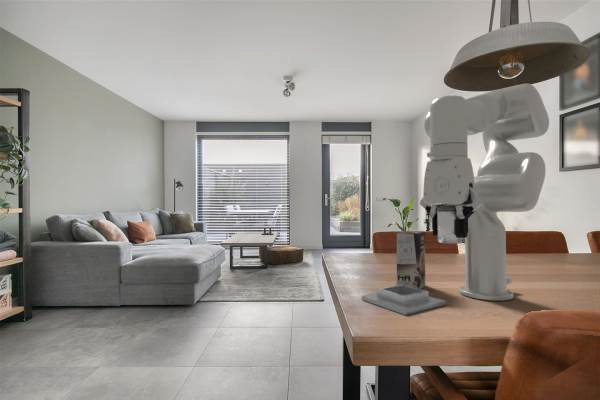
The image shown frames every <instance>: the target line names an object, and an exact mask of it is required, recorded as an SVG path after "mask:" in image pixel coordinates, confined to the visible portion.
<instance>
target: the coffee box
mask: <svg viewBox="0 0 600 400" xmlns="http://www.w3.org/2000/svg"><path fill="white" fill-rule="evenodd" d="M400 284H401V285H405V286H409V287H413V288H417V289H421V290H423V288H425V286H426V232H425V231H406V230H405V231H400V232H396V285H400Z"/></svg>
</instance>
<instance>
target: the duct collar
mask: <svg viewBox="0 0 600 400" xmlns="http://www.w3.org/2000/svg"><path fill="white" fill-rule="evenodd" d="M429 292H430V291H428V290H425V289H417V288H413V287H409V286H405V285H401V284H400V285H397V284H395V285H390V286H385V287H379V288H377V289H376V292H374V293H371V294H370V293H369V294H364V295H361V301H364V302H367V303H370V304H372V305H375V306H378V307H381V308H383V309H387V310H389V311H392V312H395V313H398V314H400V315H403V316H407V315H409V316H410V315H411V314H416V313H419V312H424V311H428V310H431V309H435V308H439V307H443V306H446V304H447V303H446V300H444V299H440V298H437V297H433V296H430V294H429Z"/></svg>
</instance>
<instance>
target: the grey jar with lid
mask: <svg viewBox="0 0 600 400" xmlns="http://www.w3.org/2000/svg"><path fill="white" fill-rule="evenodd" d="M456 219H458V214H457V210H456V207H455V205H444V206H437V236H436V237H437V238H436V239H437V240H436V241H437V242H436V243H439V244H452V245H453V244H456V245H457V244H462V243H463V238H457V237H456Z"/></svg>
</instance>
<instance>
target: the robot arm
mask: <svg viewBox="0 0 600 400" xmlns="http://www.w3.org/2000/svg"><path fill="white" fill-rule="evenodd" d="M423 126H424V132H425V133H426V135H427V136H428V137H429V138H430V139H429V140H430V141H429V142H430V148H429V149H430V151H427V152H426V157H427V158H429V159H430V161H427V162H426V166H425V171H424V176H423V177H424V180H423V192H422V193H423V196H422V198H421V200H420V202H419V205H420V206H421V207H422V208H424V209H425V211H426V213H427V214H429V218H431V230H432V236H436V237H437V206H455V207H456V210H457V214H458V219H456V237H457V238H462V239H463V238H464V247H465V249H464V255H465V257H464V259H465V261H464V262H465V263H464V264H465V272H464V273H465V285H461V286H460V287H459V291H458V292H459V293H460V294H461V295H463V296H466V297H468V298H473V299H477V300H483V301H494V302H495V301H496V302H497V301H502V302H503V301H504V302H505V301H509V300H512V299H514V292H513V291H511V290H509V289H507V286H508V285H511V284H512V283H513V279H512V278H511V277H509V276H507V244H506V243H507V241H506V240H507V234H506V233H507V232H506V227H505V225H504V224H503V221H501V219H499V217H498V215H496V214H495V213H500V212H501V213H506V212H507V213H521V212H522V213H523V212H530V211H532V210H533V209H535V208H536V206H537V203H538V201H539V197H540V195H541V192H542V189H543V185H544V182H545V179H546V178H545V177H546V162H545V160H544V158H543V157H542V155H540V154H539V153H537V152H531V151H528V152H527V151H526V152H519V150H518V149H517V147H515V146H514V145H513V143H512V144H511V143H510V142H509V141H516V140H518V141H519V140H525V139H532V138H533V139H534V138H538V137H541V136H544V135H545V134H546V133H547V131H548V130H549V127H550V117H549V114H548V112H547V108H546V106H545V104H544V101H543V99H542V97H541V95H540V92H539V90H537V88H536V87H535V86H534V85H532V84H530V83H522V84H517V85H512V86H507V87H504V88H500V89H499V88H498V89H494V90H491V91H488V92H485V93H482V94H479V95H475V96H472V97H469V98H465V97H464V96H461V95H444V96H441V97H438V98H436V99H434V100H433V101H431V103H430V108H429V111H428V112H427V114H426V115H425V119H424V123H423ZM480 133H482V140H483V146H484V150H485V155H484V158H483V159H482V161H481V163H480V166H479V167H478V169H477V174H476V175H477V176H475V174H474V168H473V164H472V160H471V158H470V157H468V150H469V149H468V136H474V135H478V134H480Z"/></svg>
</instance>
